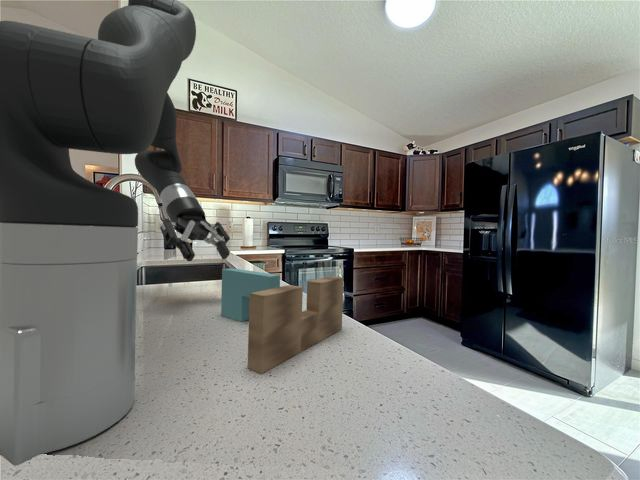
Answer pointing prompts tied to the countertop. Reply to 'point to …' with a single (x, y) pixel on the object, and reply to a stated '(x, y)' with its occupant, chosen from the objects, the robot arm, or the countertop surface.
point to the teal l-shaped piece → (243, 290)
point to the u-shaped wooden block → (292, 320)
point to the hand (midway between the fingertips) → (210, 257)
